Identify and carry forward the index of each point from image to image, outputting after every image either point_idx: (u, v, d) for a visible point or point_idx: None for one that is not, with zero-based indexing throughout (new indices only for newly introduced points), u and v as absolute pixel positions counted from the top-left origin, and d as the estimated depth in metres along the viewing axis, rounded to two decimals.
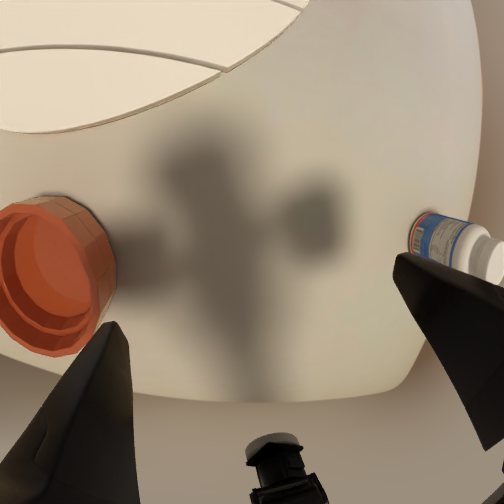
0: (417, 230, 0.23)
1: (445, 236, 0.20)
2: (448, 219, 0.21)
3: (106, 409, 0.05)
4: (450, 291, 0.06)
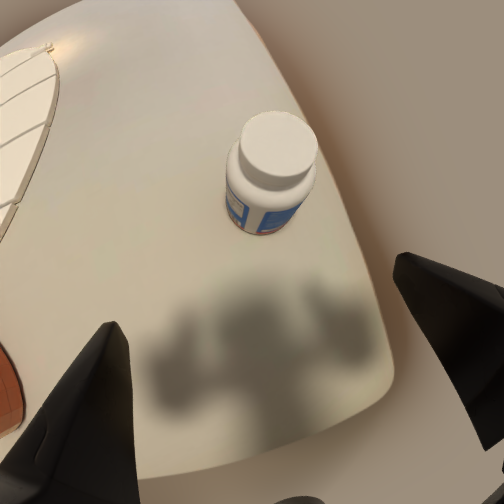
0: (226, 203, 0.21)
1: None
2: None
3: (106, 409, 0.05)
4: (450, 291, 0.06)
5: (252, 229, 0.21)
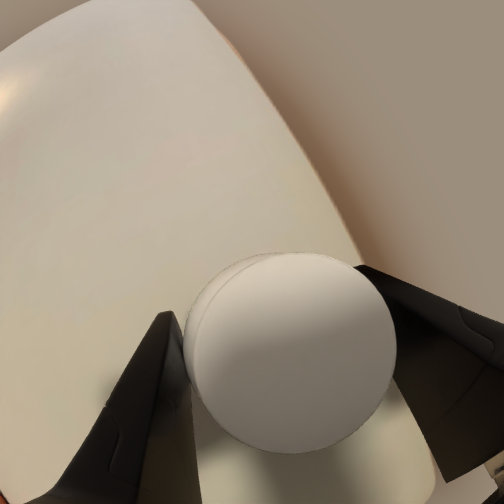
0: None
1: None
2: None
3: (175, 402, 0.05)
4: (403, 312, 0.06)
5: None
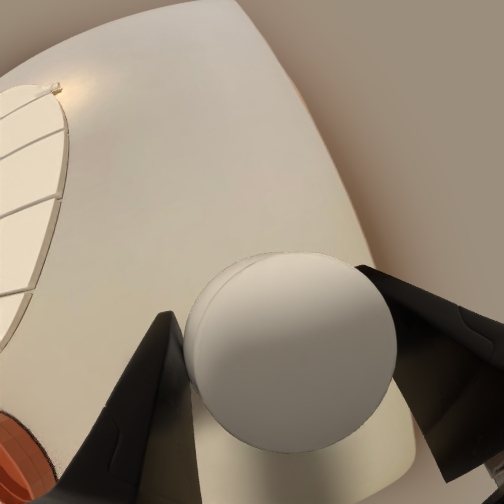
0: None
1: None
2: None
3: (175, 402, 0.05)
4: (403, 312, 0.06)
5: None
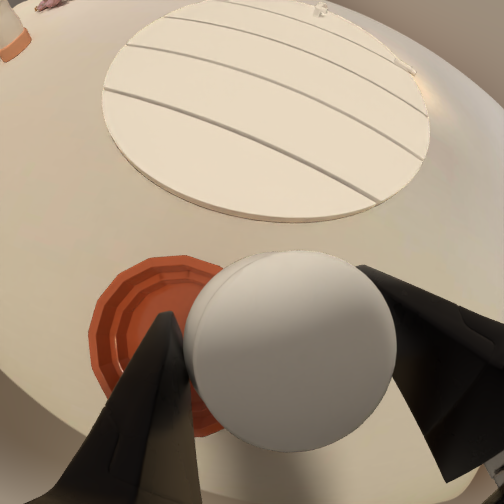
0: None
1: None
2: None
3: (175, 402, 0.05)
4: (403, 312, 0.06)
5: None
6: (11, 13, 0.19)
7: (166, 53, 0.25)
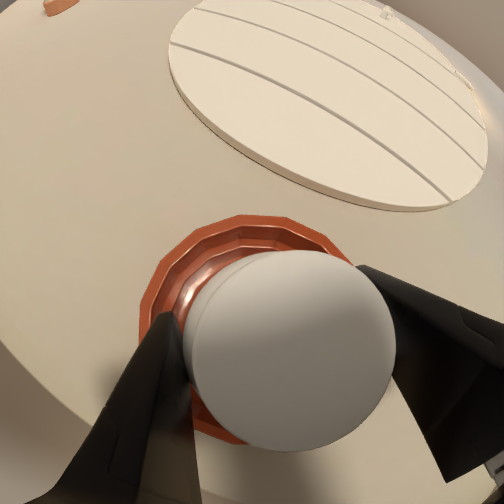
0: None
1: None
2: None
3: (174, 402, 0.05)
4: (403, 312, 0.06)
5: None
6: None
7: (240, 21, 0.23)
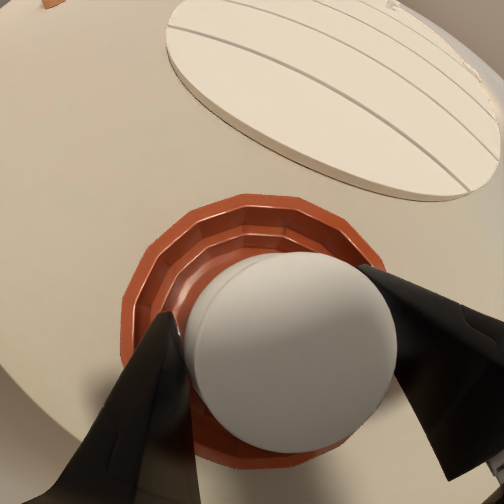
0: None
1: None
2: None
3: (173, 403, 0.05)
4: (406, 311, 0.06)
5: None
6: None
7: (242, 6, 0.21)
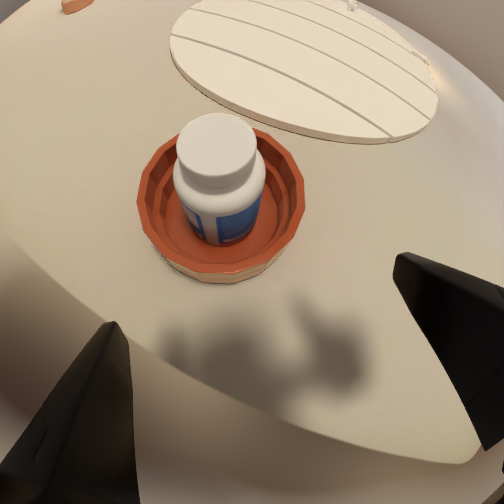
0: None
1: None
2: None
3: (106, 409, 0.05)
4: (450, 291, 0.06)
5: (214, 240, 0.20)
6: None
7: (225, 18, 0.29)
